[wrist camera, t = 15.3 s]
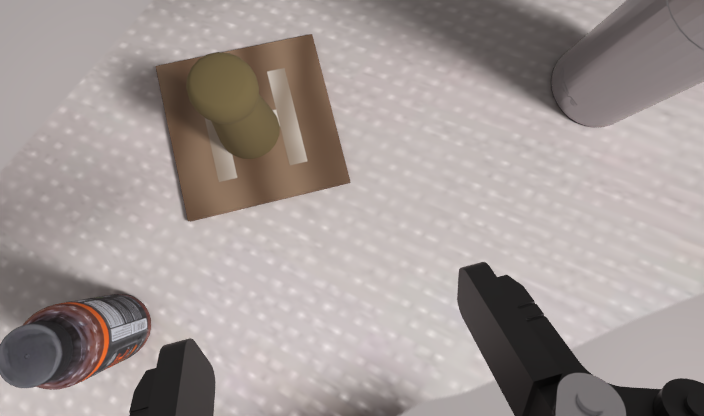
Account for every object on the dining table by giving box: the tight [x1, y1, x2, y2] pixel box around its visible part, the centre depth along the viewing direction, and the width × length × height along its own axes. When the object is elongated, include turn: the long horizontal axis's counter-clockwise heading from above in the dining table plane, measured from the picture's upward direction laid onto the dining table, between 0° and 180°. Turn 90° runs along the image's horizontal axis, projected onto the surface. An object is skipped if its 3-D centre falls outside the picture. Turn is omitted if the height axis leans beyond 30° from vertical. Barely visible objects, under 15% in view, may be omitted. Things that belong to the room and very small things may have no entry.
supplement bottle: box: [0, 294, 151, 390], centre depth 30 cm, size 6×6×11 cm
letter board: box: [156, 34, 350, 221], centre depth 38 cm, size 16×16×1 cm
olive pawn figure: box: [186, 52, 280, 159], centre depth 33 cm, size 6×6×11 cm
